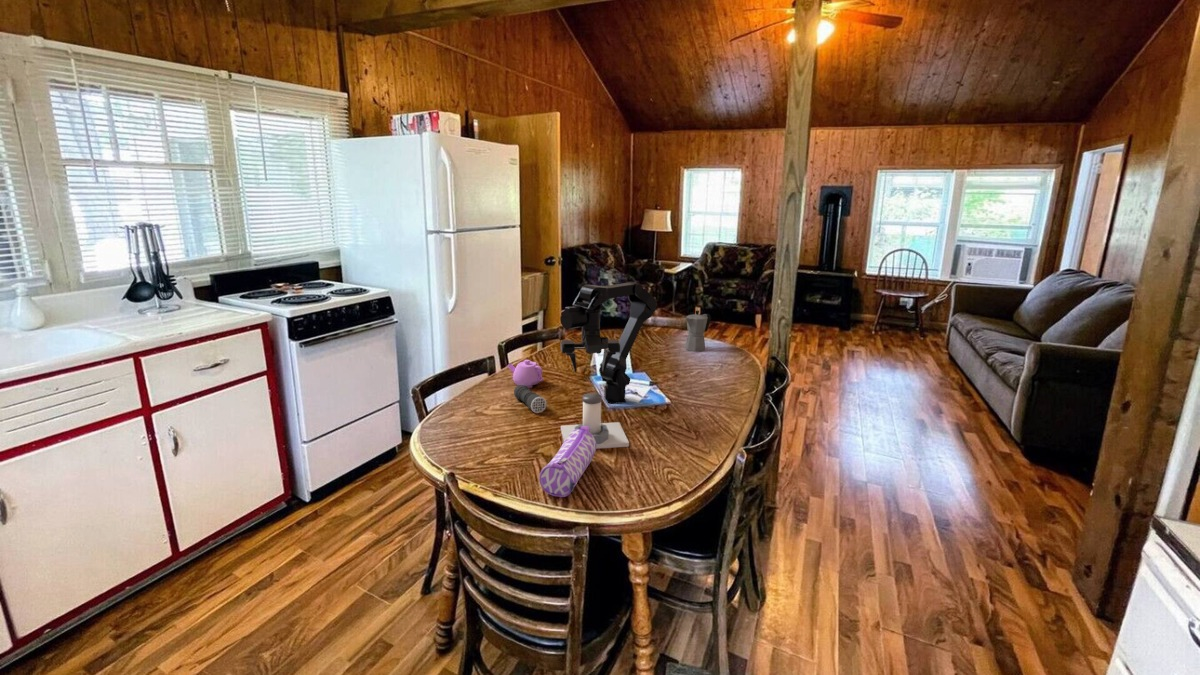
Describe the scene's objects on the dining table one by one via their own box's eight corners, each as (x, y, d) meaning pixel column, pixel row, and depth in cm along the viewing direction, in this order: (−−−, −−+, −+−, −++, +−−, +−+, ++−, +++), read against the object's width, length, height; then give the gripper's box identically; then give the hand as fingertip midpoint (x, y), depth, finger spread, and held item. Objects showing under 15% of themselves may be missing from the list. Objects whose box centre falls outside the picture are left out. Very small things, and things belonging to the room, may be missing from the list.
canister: (594, 431, 162) (595, 391, 158) (604, 438, 157) (605, 397, 154) (578, 435, 159) (578, 395, 155) (588, 442, 154) (588, 401, 151)
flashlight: (512, 399, 189) (512, 384, 187) (526, 396, 191) (526, 381, 190) (531, 414, 176) (531, 398, 175) (546, 411, 179) (546, 395, 178)
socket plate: (619, 425, 168) (619, 414, 167) (628, 446, 155) (629, 434, 154) (560, 429, 165) (560, 418, 164) (565, 450, 152) (565, 438, 151)
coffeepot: (691, 353, 242) (694, 314, 237) (677, 348, 249) (679, 310, 245) (716, 348, 251) (718, 310, 246) (701, 343, 258) (703, 306, 253)
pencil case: (573, 503, 127) (573, 467, 125) (536, 497, 129) (535, 461, 127) (598, 459, 148) (598, 427, 145) (565, 455, 150) (565, 423, 148)
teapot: (535, 391, 195) (535, 366, 193) (500, 385, 201) (499, 361, 199) (550, 382, 205) (549, 358, 202) (516, 376, 210) (515, 353, 208)
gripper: (564, 331, 164) (563, 380, 168) (625, 330, 168) (622, 379, 172) (560, 322, 175) (559, 369, 179) (617, 322, 178) (615, 368, 182)
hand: (589, 371), depth 178 cm, fingers open, 9 cm apart
